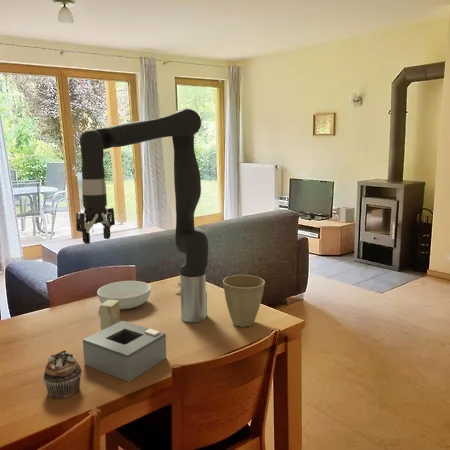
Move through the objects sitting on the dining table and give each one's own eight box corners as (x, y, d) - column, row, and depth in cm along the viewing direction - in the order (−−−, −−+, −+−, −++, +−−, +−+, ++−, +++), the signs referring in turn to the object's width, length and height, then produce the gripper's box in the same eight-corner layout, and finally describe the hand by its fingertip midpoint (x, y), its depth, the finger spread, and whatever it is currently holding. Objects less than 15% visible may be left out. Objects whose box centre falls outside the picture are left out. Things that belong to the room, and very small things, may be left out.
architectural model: (185, 296, 189) (185, 279, 188) (173, 293, 193) (173, 276, 192) (190, 294, 192) (190, 277, 190) (178, 291, 196) (178, 274, 194)
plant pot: (253, 335, 151) (253, 290, 148) (215, 326, 158) (215, 283, 155) (270, 319, 164) (271, 278, 161) (235, 312, 171) (235, 272, 168)
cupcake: (36, 393, 117) (33, 358, 115) (66, 376, 125) (64, 343, 123) (60, 404, 112) (57, 368, 110) (90, 386, 120) (88, 352, 119)
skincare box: (113, 341, 146) (111, 306, 144) (100, 340, 147) (98, 305, 145) (121, 333, 153) (119, 299, 150) (109, 332, 154) (108, 298, 151)
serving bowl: (127, 292, 193) (126, 277, 191) (162, 302, 181) (161, 286, 179) (87, 307, 176) (85, 290, 175) (122, 319, 164) (121, 302, 163)
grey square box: (123, 343, 145) (122, 318, 144) (166, 358, 136) (165, 331, 134) (84, 364, 132) (82, 337, 130) (128, 382, 123) (127, 353, 121)
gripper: (84, 195, 137) (88, 247, 140) (118, 191, 149) (120, 238, 152) (68, 194, 141) (72, 243, 144) (102, 189, 153) (105, 235, 156)
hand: (97, 241), depth 148 cm, fingers open, 8 cm apart
